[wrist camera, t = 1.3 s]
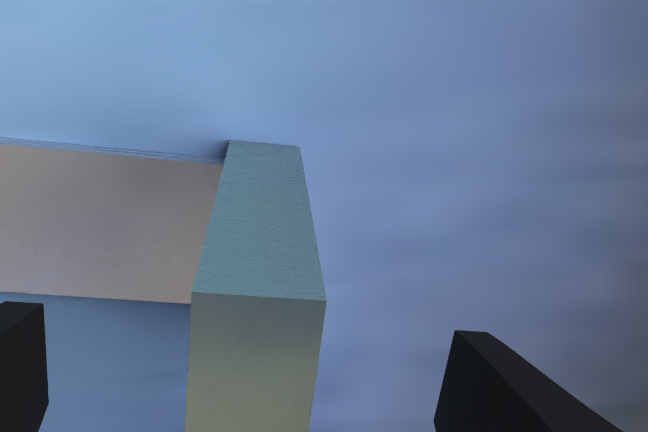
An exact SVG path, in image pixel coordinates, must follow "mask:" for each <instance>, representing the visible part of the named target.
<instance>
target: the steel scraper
mask: <svg viewBox="0 0 648 432" xmlns="http://www.w3.org/2000/svg"><path fill="white" fill-rule="evenodd" d="M0 292H14V293H30V294H45V295H61V296H76V297H92V298H107V299H123V300H138V301H154V302H169V303H185V304H191V307H190V328H189V348H188V369H187V390H186V410H185V431H184V432H308V429H309V422H310V415H311V408H312V400H313V393H314V386H315V379H316V372H317V365H318V358H319V351H320V344H321V337H322V330H323V322H324V315H325V308H326V295H325V289H324V283H323V278H322V272H321V266H320V260H319V255H318V249H317V243H316V237H315V232H314V226H313V220H312V214H311V209H310V203H309V197H308V191H307V186H306V180H305V174H304V168H303V163H302V157H301V151H300V147H296V146H285V145H275V144H265V143H255V142H245V141H234V140H230V141H229V145H228V149H227V153H226V157H225V158H214V157H204V156H193V155H182V154H172V153H161V152H151V151H140V150H129V149H119V148H108V147H98V146H87V145H76V144H66V143H55V142H44V141H34V140H23V139H13V138H2V137H0Z"/></svg>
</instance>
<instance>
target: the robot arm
mask: <svg viewBox="0 0 648 432" xmlns="http://www.w3.org/2000/svg"><path fill="white" fill-rule="evenodd" d="M48 403H49V399H48V381H47V362H46V343H45V325H44V306H43V304H40V303H25V302H9V301H5V302H3V303H1V304H0V432H38V431H39V428H40V425H41V422H42V420H43V417H44V414H45V412H46V409H47V406H48ZM434 424H435V429H436V432H623V431H621V430H620V429H618V428H617V427H616V426H614V425H613V424H611V423H610V422H608V421H607V420H605V419H604V418H602V417H601V416H600V415H598V414H597V413H595V412H594V411H593V410H591V409H590V408H588V407H587V406H586V405H584V404H583V403H582V402H580V401H579V400H577V399H576V398H575V397H573V396H572V395H571V394H569V393H568V392H567V391H565V390H564V389H563V388H561V387H560V386H559V385H558V384H556V383H555V382H554V381H552V380H551V379H550V378H548V377H547V376H546V375H544V374H543V373H542V372H541V371H539V370H538V369H537V368H535V367H534V366H533V365H532V364H530V363H529V362H528V361H526V360H525V359H524V358H522V357H521V356H520V355H519V354H517V353H516V352H515V351H513V350H512V349H511V348H509V347H508V346H507V345H505V344H504V343H502V342H501V341H500V340H498V339H497V338H495V337H494V336H492V335H491V334H489V333H487V332H476V331H460V330H455V332H454V336H453V340H452V345H451V349H450V353H449V357H448V362H447V366H446V370H445V374H444V379H443V383H442V387H441V392H440V396H439V400H438V404H437V409H436V413H435V417H434Z"/></svg>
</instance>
